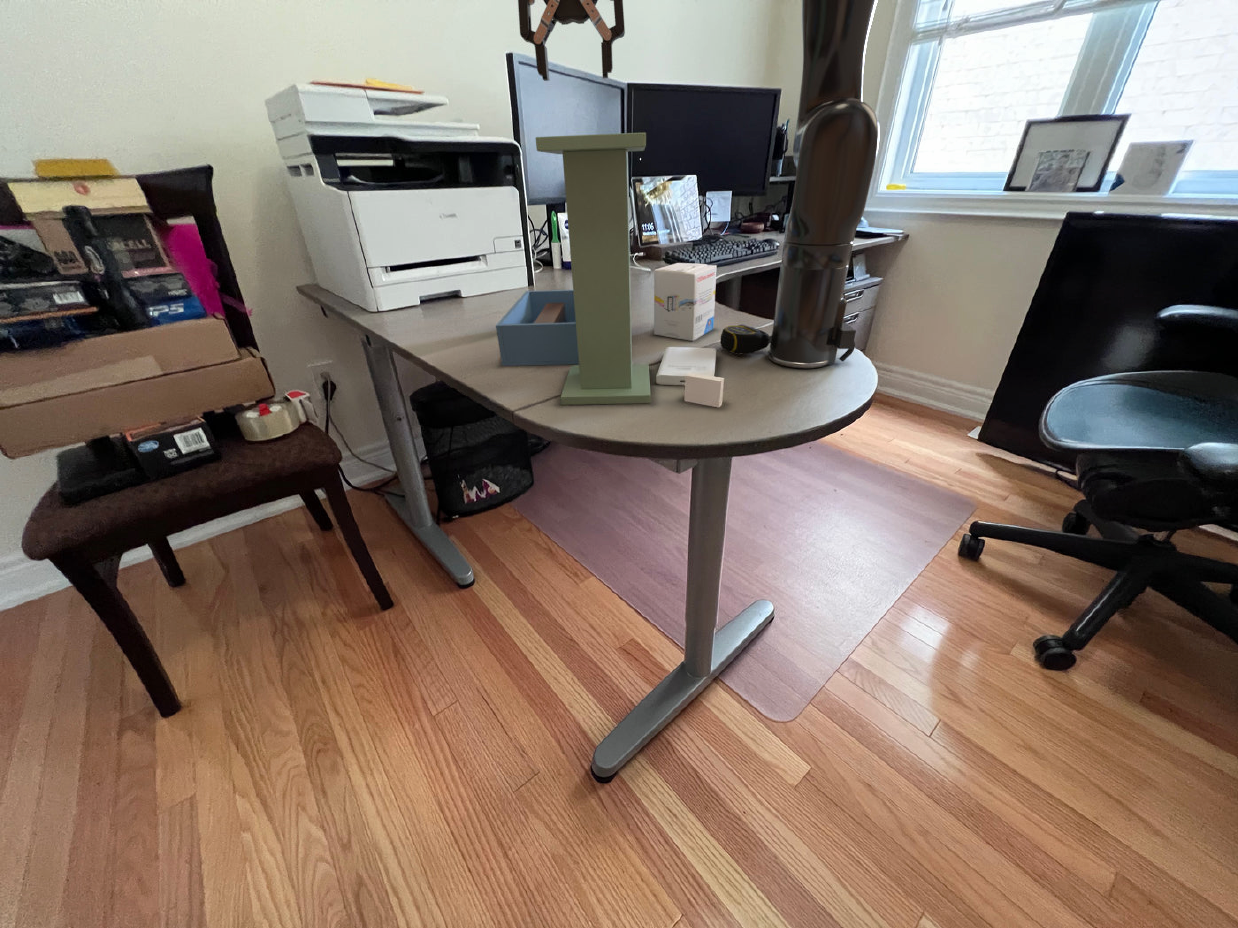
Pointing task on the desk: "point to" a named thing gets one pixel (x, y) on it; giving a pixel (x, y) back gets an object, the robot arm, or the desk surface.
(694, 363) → the hard drive
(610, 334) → the stand
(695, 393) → the eraser
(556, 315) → the block
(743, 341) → the tape measure
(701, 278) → the ink box
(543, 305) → the tray
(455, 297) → the desk surface
